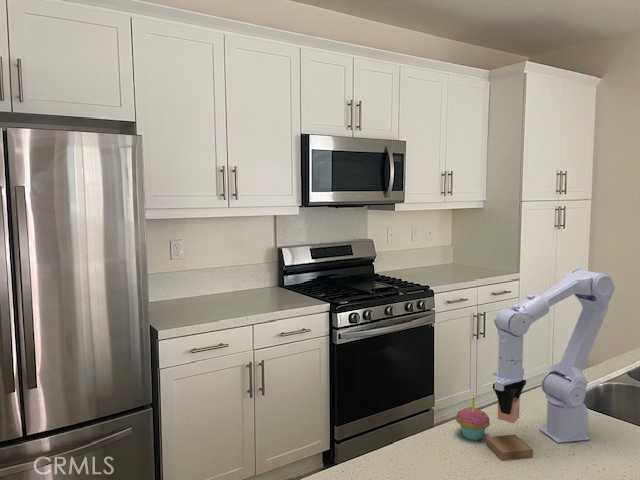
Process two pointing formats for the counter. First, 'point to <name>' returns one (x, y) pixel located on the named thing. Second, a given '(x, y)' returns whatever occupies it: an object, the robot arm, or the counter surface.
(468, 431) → the cupcake
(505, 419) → the block
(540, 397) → the counter surface
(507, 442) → the base
